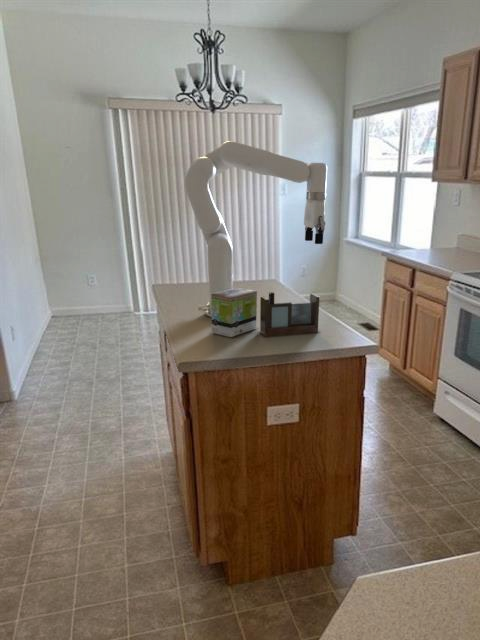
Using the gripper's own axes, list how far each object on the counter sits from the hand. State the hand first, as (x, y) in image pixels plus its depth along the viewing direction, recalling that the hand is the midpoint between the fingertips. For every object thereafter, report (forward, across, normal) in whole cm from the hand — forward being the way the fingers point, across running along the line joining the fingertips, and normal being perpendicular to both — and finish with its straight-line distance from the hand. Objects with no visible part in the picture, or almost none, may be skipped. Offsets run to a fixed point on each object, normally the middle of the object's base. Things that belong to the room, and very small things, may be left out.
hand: (313, 242), depth 213 cm
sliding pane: (+28, +25, -23) cm, 44 cm away
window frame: (+30, +23, -19) cm, 42 cm away
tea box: (+30, +16, -38) cm, 50 cm away
